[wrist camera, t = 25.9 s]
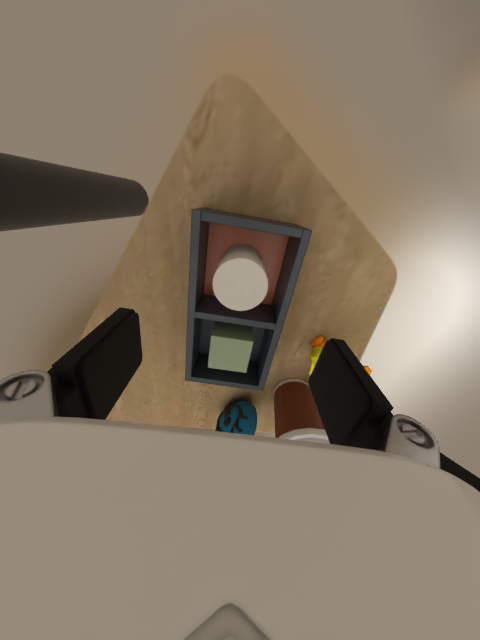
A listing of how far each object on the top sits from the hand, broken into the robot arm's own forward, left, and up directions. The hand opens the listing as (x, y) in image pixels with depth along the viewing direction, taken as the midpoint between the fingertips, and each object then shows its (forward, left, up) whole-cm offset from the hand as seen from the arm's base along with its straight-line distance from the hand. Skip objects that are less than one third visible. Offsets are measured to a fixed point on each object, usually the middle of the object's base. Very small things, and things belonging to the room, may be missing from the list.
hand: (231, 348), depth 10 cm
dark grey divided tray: (0, -5, -17) cm, 18 cm away
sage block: (0, -10, -16) cm, 19 cm away
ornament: (+3, -25, -17) cm, 31 cm away
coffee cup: (+12, -20, -17) cm, 29 cm away
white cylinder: (0, 0, -16) cm, 16 cm away
